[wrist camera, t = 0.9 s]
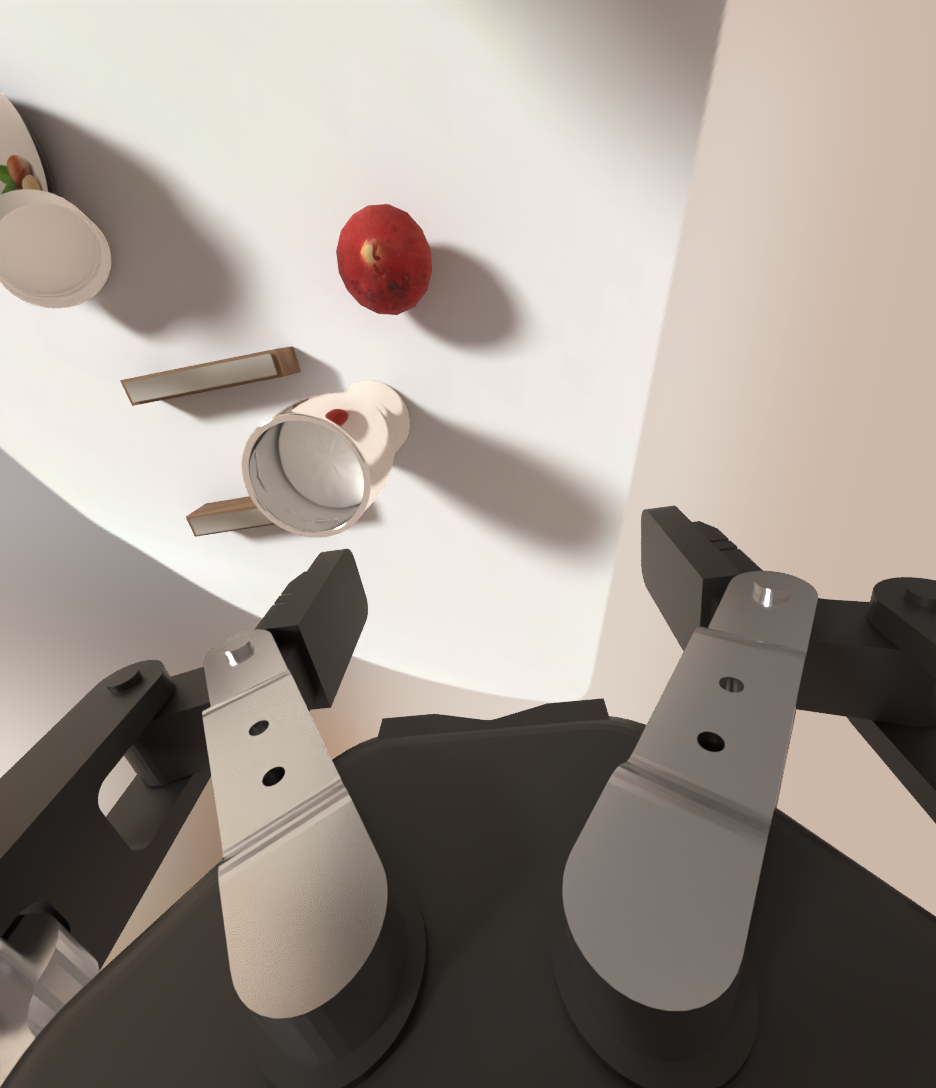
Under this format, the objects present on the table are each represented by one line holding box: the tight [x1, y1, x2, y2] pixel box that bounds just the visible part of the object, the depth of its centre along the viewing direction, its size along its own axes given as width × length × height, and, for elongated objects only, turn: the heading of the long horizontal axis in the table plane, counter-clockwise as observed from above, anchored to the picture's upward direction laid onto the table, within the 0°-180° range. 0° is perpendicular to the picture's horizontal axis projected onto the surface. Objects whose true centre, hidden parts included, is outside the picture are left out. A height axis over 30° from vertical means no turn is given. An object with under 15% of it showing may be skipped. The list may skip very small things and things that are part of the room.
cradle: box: [120, 347, 300, 536], centre depth 36 cm, size 13×12×3 cm
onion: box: [336, 204, 432, 315], centre depth 29 cm, size 6×6×8 cm
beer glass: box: [242, 381, 410, 537], centre depth 30 cm, size 7×7×15 cm
